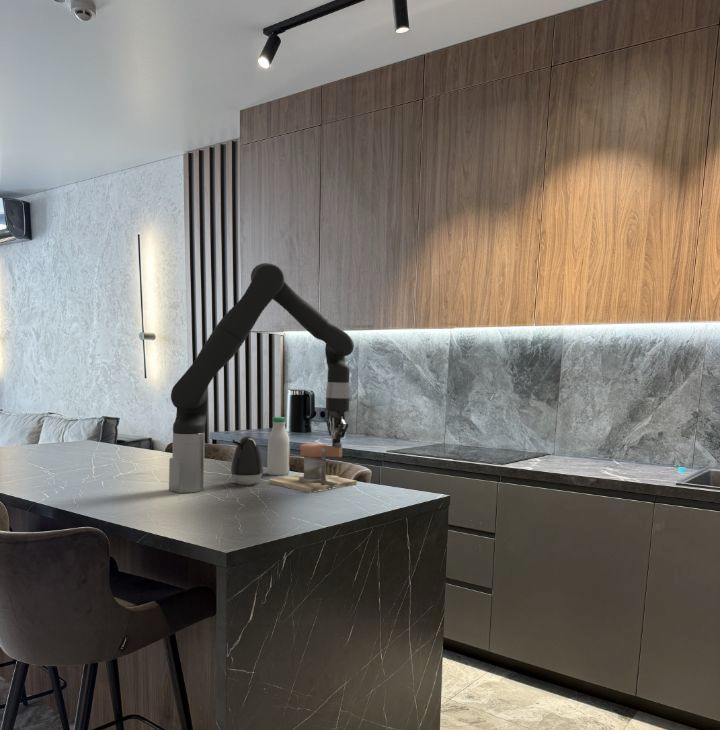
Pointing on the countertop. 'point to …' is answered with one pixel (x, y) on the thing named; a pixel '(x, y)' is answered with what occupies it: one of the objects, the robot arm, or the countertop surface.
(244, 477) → the pump dispenser
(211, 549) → the countertop surface
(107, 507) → the countertop surface
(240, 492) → the countertop surface
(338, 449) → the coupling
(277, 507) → the countertop surface
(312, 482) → the post board
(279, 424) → the milk bottle
